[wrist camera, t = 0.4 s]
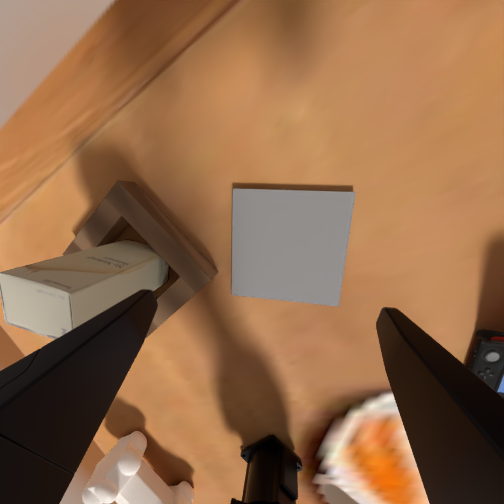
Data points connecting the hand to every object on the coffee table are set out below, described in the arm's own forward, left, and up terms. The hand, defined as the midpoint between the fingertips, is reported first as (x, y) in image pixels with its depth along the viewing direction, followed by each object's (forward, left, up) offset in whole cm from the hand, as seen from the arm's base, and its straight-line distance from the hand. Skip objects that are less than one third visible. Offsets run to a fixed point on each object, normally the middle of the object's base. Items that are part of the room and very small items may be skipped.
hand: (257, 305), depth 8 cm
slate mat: (0, -2, -15) cm, 15 cm away
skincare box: (-14, +9, -16) cm, 23 cm away
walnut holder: (-14, +8, -15) cm, 22 cm away
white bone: (-40, -15, -16) cm, 46 cm away
